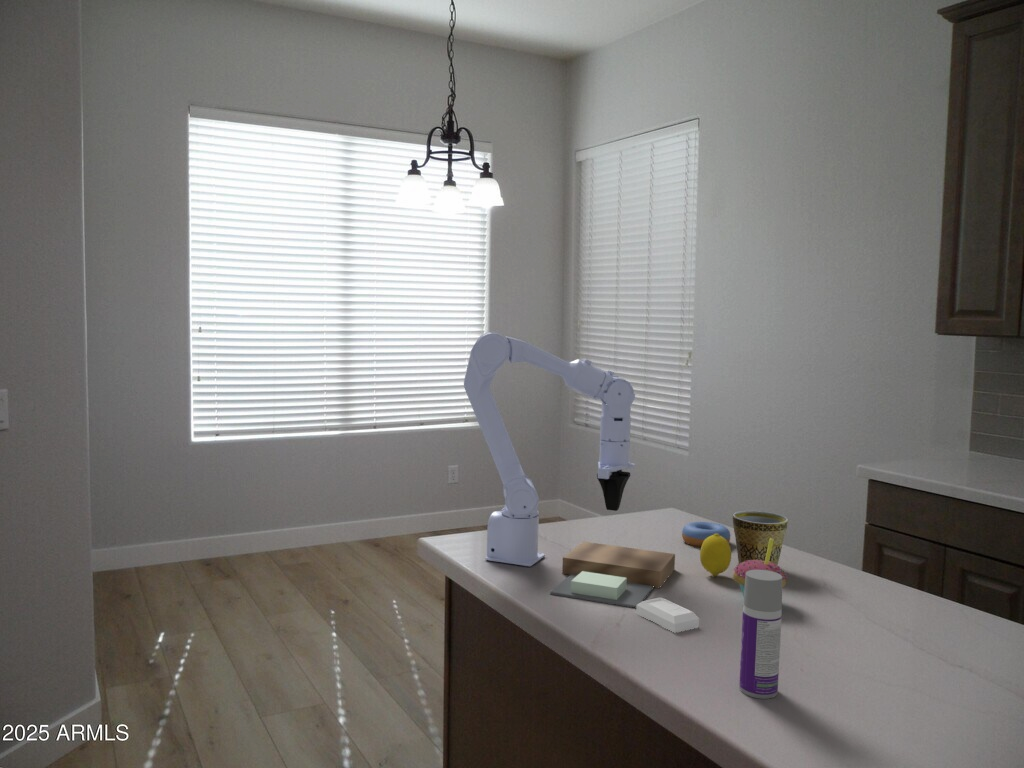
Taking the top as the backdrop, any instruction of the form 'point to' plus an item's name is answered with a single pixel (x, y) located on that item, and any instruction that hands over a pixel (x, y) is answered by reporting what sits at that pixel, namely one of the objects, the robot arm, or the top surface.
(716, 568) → the lemon
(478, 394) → the robot arm
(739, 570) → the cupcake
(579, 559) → the board
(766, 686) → the container
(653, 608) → the soap bar
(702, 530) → the doughnut
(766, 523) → the ceramic cup
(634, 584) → the mat
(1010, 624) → the top surface
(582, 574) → the tile
